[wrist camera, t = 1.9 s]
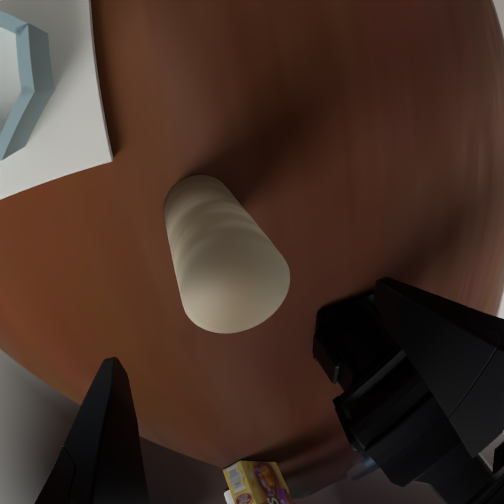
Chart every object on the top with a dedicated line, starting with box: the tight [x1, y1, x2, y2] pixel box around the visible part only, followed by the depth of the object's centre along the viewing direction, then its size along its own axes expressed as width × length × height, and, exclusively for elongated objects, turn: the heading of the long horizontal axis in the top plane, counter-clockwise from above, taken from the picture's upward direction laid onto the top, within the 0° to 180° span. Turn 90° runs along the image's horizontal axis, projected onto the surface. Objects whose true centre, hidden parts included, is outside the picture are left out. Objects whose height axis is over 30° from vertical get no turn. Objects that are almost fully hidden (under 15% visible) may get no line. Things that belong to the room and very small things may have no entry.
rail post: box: [163, 175, 290, 333], centre depth 14 cm, size 4×4×8 cm
